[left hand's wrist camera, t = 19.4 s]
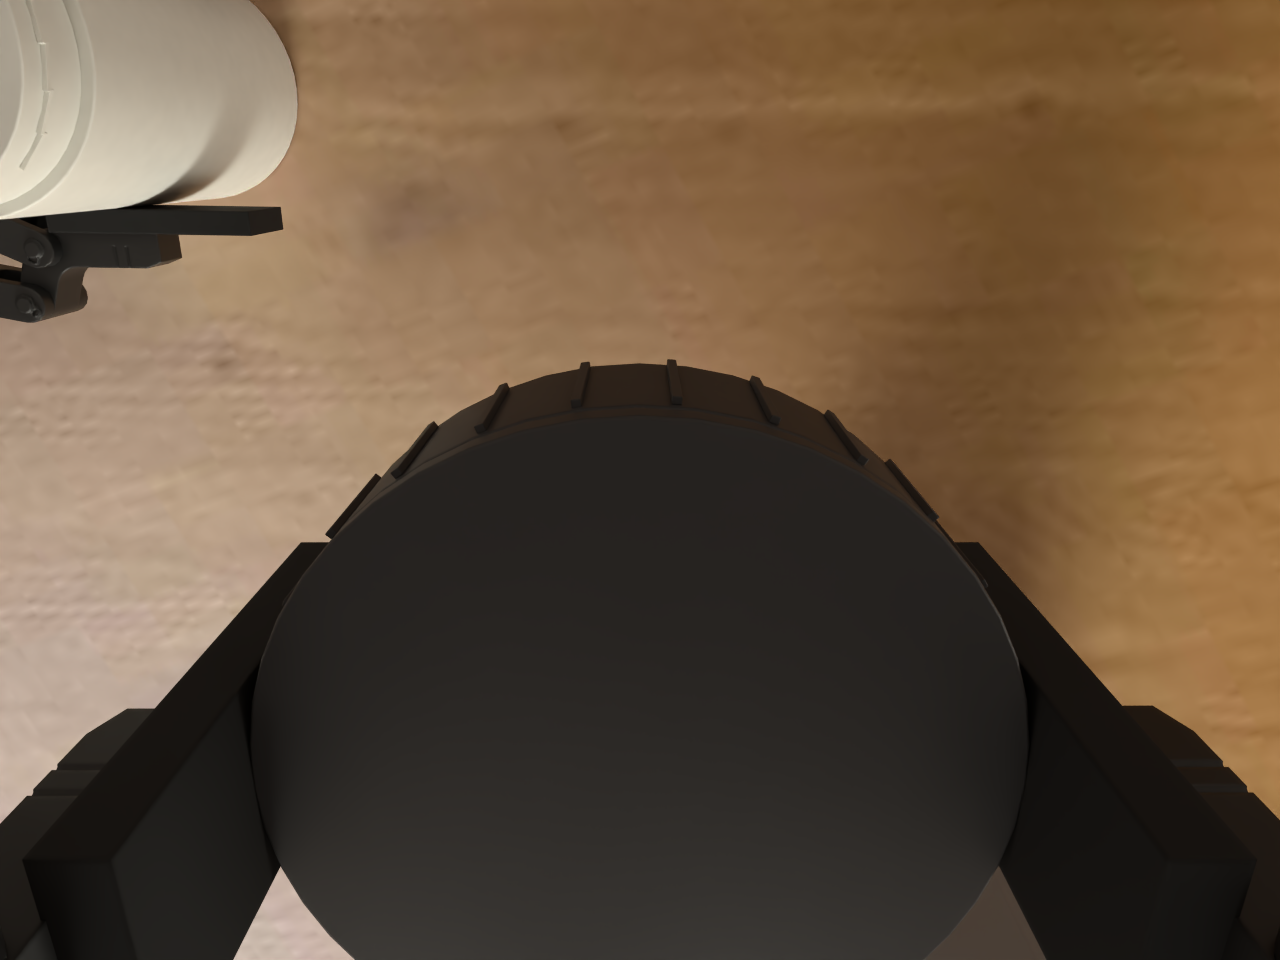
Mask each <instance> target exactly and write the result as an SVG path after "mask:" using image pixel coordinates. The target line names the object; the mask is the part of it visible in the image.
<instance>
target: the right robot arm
mask: <svg viewBox="0 0 1280 960" xmlns="http://www.w3.org/2000/svg"><path fill="white" fill-rule="evenodd" d="M278 230H283V223H282V215H281V207H249V206H187V205H145V206H135V207H124V208H114V209H104V210H93V211H83V212H73V213H62V214H52V215H42V216H32V217H21V218H11V219H1V220H0V254H3V255H5V256H7V257H10V258H12V259H14V260H17V261H19V262H21V263H23V264H22V268H18V267H13V266H7V265H2V264H0V317H1V318H6V319H11V320H17V321H22V322H38V321H42V320H45V319H49V318H53V317H56V316H60V315H64V314H67V313H71V312H75V311H78V310H80V309H82V308H84V306H85V305H86V304H87V299H88V296H87V292H86V290H85V288H84V286H83V285H82V282H83V276H84V273H85V271H86V270H87V268H88V267H98V268H151V267H155V266H160V265H164V264H169V263H171V262H173V261H176V260H178V259H180V258H182V254H181V248H180V242H179V236H178V235H232V236H253V235H258V234H263V233H268V232H273V231H278Z"/></svg>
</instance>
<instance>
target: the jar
mask: <svg viewBox="0 0 1280 960" xmlns="http://www.w3.org/2000/svg"><path fill="white" fill-rule="evenodd" d="M297 108H298V101H297V88H296V82H295V76H294V72H293V69H292V66H291V62H290V59H289V57H288V54H287V52H286V50H285V47H284V45H283V43H282V41H281V40H280V38H279V36H278V34H277V33H276V31H275V29H274V28H273V27H272V25H271V24H270V22H269V21H268V20H267V18H266V17H265V16H264V15H263V14H262V13H261V12H260V10H259V9H258V8H257V7H256V6H255V5H254V4H253V3H251V2H250V1H249V0H0V220H1V219H11V218H21V217H32V216H42V215H52V214H62V213H73V212H83V211H93V210H104V209H114V208H124V207H135V206H145V205H155V204H165V203H176V202H186V201H196V200H207V199H217V198H224V197H229V196H234V195H237V194H240V193H242V192H245V191H247V190H249V189H251V188H253V187H255V186H256V185H258V184H259V183H261V182H262V181H263V180H265V179H266V178H267V177H268V176H269V175H270V174H271V173H272V172H273V171H274V170H275V169H276V168H277V166H278V165H279V163H280V162H281V161H282V159H283V158H284V156H285V154H286V152H287V150H288V148H289V146H290V143H291V140H292V137H293V134H294V130H295V125H296V120H297Z"/></svg>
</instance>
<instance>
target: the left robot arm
mask: <svg viewBox="0 0 1280 960" xmlns="http://www.w3.org/2000/svg"><path fill="white" fill-rule="evenodd" d="M328 543H329V542H301V543H300V544H299V545H298V546H297V548H296V549H295V550H294V551H293V552H292V553H291V554H290V556H289V557H288V558H287V559H286V560H285V561H284V562H283V563H282V565H281V566H280V567H279V568H278V569H277V570H276V571H275V573H274V574H273V575H272V576H271V577H270V578H269V579H268V581H267V582H266V583H265V584H264V585H263V586H262V587H261V588H260V590H259V591H258V592H257V593H256V594H255V595H254V596H253V598H252V599H251V600H250V601H249V602H248V603H247V604H246V606H245V607H244V608H243V609H242V610H241V611H240V612H239V613H238V615H237V616H236V617H235V618H234V619H233V620H232V621H231V623H230V624H229V625H228V626H227V627H226V628H225V629H224V631H223V632H222V633H221V634H220V635H219V636H218V637H217V638H216V640H215V641H214V642H213V643H212V644H211V645H210V646H209V648H208V649H207V650H206V651H205V652H204V653H203V654H202V656H201V657H200V658H199V659H198V660H197V661H196V662H195V663H194V665H193V666H192V667H191V668H190V669H189V670H188V671H187V673H186V674H185V675H184V676H183V677H182V678H181V679H180V681H179V682H178V683H177V684H176V685H175V686H174V687H173V688H172V690H171V691H170V692H169V693H168V694H167V695H166V696H165V698H164V699H163V700H162V701H161V702H160V703H159V704H158V706H157V707H156V708H155V709H126V710H124V711H123V712H121V713H120V714H118V715H116V716H115V717H113V718H112V719H110V720H108V721H107V722H105V723H104V724H102V725H100V726H99V727H97V728H95V729H94V730H92V731H91V732H89V733H87V734H86V735H85V736H84V737H83V738H82V739H81V740H80V741H79V742H78V743H77V744H76V745H75V746H74V748H73V749H72V750H71V751H70V752H69V753H68V754H67V755H66V756H65V757H64V758H63V759H62V760H61V761H60V762H59V763H58V764H57V766H58V767H57V770H51V771H50V773H49V774H48V775H47V776H46V777H45V778H44V779H43V780H42V781H41V782H40V783H39V784H38V785H37V786H36V787H35V788H34V789H33V795H32V796H26V798H25V799H24V800H23V801H22V802H21V803H20V804H19V805H18V806H17V807H16V808H15V809H14V810H13V811H12V812H11V813H10V814H9V815H8V816H7V817H6V818H5V819H4V820H3V821H2V823H1V824H0V960H233V959H234V957H235V955H236V953H237V951H238V949H239V947H240V945H241V943H242V941H243V939H244V937H245V935H246V933H247V931H248V929H249V927H250V925H251V923H252V921H253V919H254V918H255V916H256V914H257V912H258V910H259V908H260V906H261V904H262V902H263V900H264V898H265V896H266V894H267V892H268V890H269V888H270V886H271V884H272V882H273V880H274V878H275V876H276V874H277V872H278V870H279V868H280V866H281V865H280V863H279V861H278V858H277V856H276V854H275V852H274V849H273V847H272V845H271V842H270V840H269V838H268V835H267V833H266V831H265V828H264V824H263V820H262V817H261V813H260V809H259V806H258V802H257V797H256V792H255V787H254V781H253V774H252V765H251V755H250V728H251V709H252V699H253V695H254V690H255V686H256V681H257V676H258V672H259V667H260V663H261V658H262V656H263V653H264V651H265V648H266V646H267V643H268V641H269V638H270V636H271V633H272V631H273V628H274V626H275V623H276V620H277V618H278V616H279V614H280V612H281V611H282V609H283V607H284V606H282V604H283V601H284V599H285V598H286V596H287V595H288V594H289V593H290V592H291V590H292V589H293V588H294V587H295V585H296V584H297V583H298V582H299V580H300V579H301V577H302V575H303V574H304V573H305V572H306V570H307V569H308V568H309V567H310V565H311V564H312V563H313V562H314V560H315V559H316V558H317V557H318V555H319V554H320V553H321V552H322V551H323V549H324V548H325V547H326V546H327V544H328ZM954 543H955V544H956V545H957V546H958V547H959V549H960V550H961V551H962V552H963V553H964V555H965V556H966V557H967V558H968V560H969V561H970V562H971V563H972V564H973V566H974V567H975V568H976V569H977V571H978V572H979V573H980V574H981V575H982V577H983V578H984V579H985V581H986V583H987V584H988V587H986V588H985V590H986V592H987V593H988V595H989V597H990V598H991V600H992V602H993V603H994V605H995V607H996V608H997V610H998V612H999V613H1000V615H1001V617H1002V620H1003V622H1004V625H1005V627H1006V630H1007V632H1008V635H1009V637H1010V640H1011V642H1012V645H1013V647H1014V650H1015V652H1016V655H1017V657H1018V662H1019V666H1020V671H1021V675H1022V680H1023V684H1024V689H1025V693H1026V698H1027V706H1028V724H1029V742H1030V747H1029V757H1028V767H1027V776H1026V782H1025V788H1024V793H1023V798H1022V802H1021V806H1020V810H1019V814H1018V817H1017V821H1016V825H1015V829H1014V831H1013V833H1012V836H1011V838H1010V840H1009V843H1008V845H1007V847H1006V850H1005V852H1004V854H1003V857H1002V859H1001V861H1000V864H999V866H998V868H997V869H996V871H995V873H994V874H993V876H992V878H991V879H990V881H989V882H988V884H987V886H986V887H985V889H984V891H983V892H982V894H981V896H980V897H979V899H978V901H977V902H976V903H975V905H974V906H973V907H972V908H971V910H970V911H969V912H968V913H967V915H966V916H965V917H964V918H963V920H962V921H961V922H960V923H959V924H958V926H957V927H956V928H955V929H954V931H953V932H952V933H951V934H950V935H949V936H948V937H947V938H946V939H945V940H944V941H943V942H942V943H941V944H940V945H939V946H938V947H937V948H936V949H935V950H934V951H933V952H932V953H931V954H930V955H929V956H928V957H927V958H926V959H925V960H1280V820H1279V819H1278V818H1277V817H1276V816H1275V815H1274V814H1273V813H1272V812H1271V811H1270V810H1269V809H1268V808H1267V806H1266V805H1265V804H1264V803H1263V802H1262V801H1261V800H1260V799H1259V798H1258V797H1257V796H1256V795H1255V794H1254V793H1248V791H1247V786H1246V785H1245V784H1244V783H1243V782H1242V781H1241V780H1240V779H1239V777H1238V776H1237V775H1236V774H1235V773H1234V772H1233V771H1232V770H1231V769H1230V768H1229V767H1224V766H1223V761H1222V760H1221V759H1220V758H1219V757H1218V756H1217V755H1216V754H1215V753H1214V752H1213V751H1212V750H1211V748H1210V747H1209V746H1208V745H1207V744H1206V743H1205V742H1204V741H1203V740H1202V739H1201V738H1200V737H1199V736H1198V735H1197V734H1196V733H1195V732H1194V731H1193V730H1191V729H1189V728H1188V727H1186V726H1185V725H1183V724H1181V723H1180V722H1178V721H1176V720H1175V719H1173V718H1172V717H1170V716H1168V715H1167V714H1165V713H1164V712H1162V711H1160V710H1159V709H1157V708H1155V707H1154V706H1122V705H1121V704H1120V703H1119V702H1118V701H1117V699H1116V698H1115V697H1114V696H1113V695H1112V694H1111V693H1110V691H1109V690H1108V689H1107V688H1106V687H1105V686H1104V685H1103V683H1102V682H1101V681H1100V680H1099V679H1098V678H1097V677H1096V676H1095V674H1094V673H1093V672H1092V671H1091V670H1090V669H1089V668H1088V666H1087V665H1086V664H1085V663H1084V662H1083V661H1082V660H1081V658H1080V657H1079V656H1078V655H1077V654H1076V653H1075V652H1074V651H1073V649H1072V648H1071V647H1070V646H1069V645H1068V644H1067V643H1066V641H1065V640H1064V639H1063V638H1062V637H1061V636H1060V635H1059V633H1058V632H1057V631H1056V630H1055V629H1054V628H1053V627H1052V626H1051V624H1050V623H1049V622H1048V621H1047V620H1046V619H1045V618H1044V616H1043V615H1042V614H1041V613H1040V612H1039V611H1038V610H1037V608H1036V607H1035V606H1034V605H1033V604H1032V603H1031V602H1030V601H1029V599H1028V598H1027V597H1026V596H1025V595H1024V594H1023V593H1022V591H1021V590H1020V589H1019V588H1018V587H1017V586H1016V585H1015V583H1014V582H1013V581H1012V580H1011V579H1010V578H1009V577H1008V576H1007V574H1006V573H1005V572H1004V571H1003V570H1002V569H1001V568H1000V566H999V565H998V564H997V563H996V562H995V561H994V560H993V558H992V557H991V556H990V555H989V554H988V553H987V552H986V551H985V549H984V548H983V547H982V546H981V545H980V544H979V543H978V542H954Z"/></svg>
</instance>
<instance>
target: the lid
mask: <svg viewBox="0 0 1280 960" xmlns="http://www.w3.org/2000/svg"><path fill="white" fill-rule="evenodd" d="M938 518H939V516H938V515H937V514H936V513H935V511H934V510H933V509H932V508H931V507H930V505H929V504H928V503H927V502H926V501H925V499H924V498H923V497H922V496H921V495H920V493H919V492H918V491H917V490H916V489H915V487H914V486H913V485H912V484H911V483H910V481H909V480H908V479H907V478H906V477H905V475H904V474H903V473H902V472H901V471H900V469H899V468H898V467H897V466H896V465H895V463H894V462H893V461H892V460H891V459H889V460H888V461H886V462H884V461H882V460H881V459H880V458H879V457H878V456H877V455H876V454H875V453H874V452H873V451H871V450H870V449H869V448H868V447H867V446H866V445H865V444H864V443H863V442H861V441H860V440H859V439H858V438H857V437H856V436H855V435H854V434H852V433H851V432H849V431H848V430H846V429H845V427H844V426H843V425H842V423H841V422H840V421H839V419H838V418H837V417H836V415H835V414H834V413H832V412H831V411H829V410H827V411H826V413H825V414H822V413H821V412H819V411H818V410H816V409H814V408H812V407H810V406H808V405H806V404H804V403H802V402H800V401H798V400H796V399H794V398H792V397H790V396H788V395H786V394H784V393H781V392H779V391H777V390H775V389H772V388H769V387H766V386H764V385H763V383H762V382H761V380H760V378H758V377H755V376H751V379H750V381H748V380H745V379H742V378H739V377H736V376H733V375H728V374H723V373H718V372H712V371H707V370H702V369H697V368H692V367H687V366H677V363H676V360H670V359H668V360H667V365H656V364H640V363H639V364H623V365H608V366H593V367H590V362H583V363H581V365H580V369H577V370H572V371H567V372H562V373H557V374H552V375H547V376H543V377H540V378H537V379H534V380H531V381H528V382H526V383H523V384H520V385H517V386H514V387H511V388H509V386H508V384H507V383H504V384H502V385H500V386H499V387H498V389H497V390H496V392H495V393H494V395H492V396H490V397H488V398H486V399H484V400H482V401H480V402H478V403H476V404H473V405H471V406H469V407H467V408H465V409H463V410H461V411H460V412H458V413H457V414H455V415H454V416H452V417H451V418H449V419H448V420H447V421H445V422H444V423H442V424H441V425H439V426H438V425H437V424H436V423H435V422H434V421H433V422H432V423H430V424H429V425H428V426H427V427H426V428H425V430H424V431H423V432H422V433H421V435H420V436H419V437H418V439H417V440H416V441H415V442H414V444H413V445H412V446H411V447H410V449H409V450H408V451H407V452H406V453H405V454H403V455H402V456H401V457H400V458H399V459H398V460H397V461H396V462H395V463H394V464H392V466H391V467H390V468H389V469H388V471H387V472H386V473H385V474H384V475H383V477H382V478H381V477H380V476H379V475H377V474H375V475H374V476H373V477H372V479H371V480H370V481H369V482H368V483H367V485H366V486H365V487H364V488H363V489H362V491H361V492H360V493H359V494H358V495H357V497H356V498H355V499H354V500H353V501H352V503H351V504H350V505H349V506H348V507H347V509H346V510H345V511H344V512H343V513H342V515H341V516H340V517H339V518H338V519H337V521H336V522H335V523H334V524H333V525H332V527H331V528H330V529H329V530H328V531H327V533H326V534H325V535H326V536H328V537H329V538H330V539H331V541H330V542H329V543H328V544H327V546H326V547H325V548H324V549H323V551H322V552H321V553H320V554H319V555H318V557H317V558H316V559H315V560H314V562H313V563H312V564H311V565H310V567H309V568H308V569H307V570H306V572H305V573H304V574H303V575H302V577H301V579H300V580H299V582H298V583H297V584H296V585H295V587H294V588H293V589H292V590H291V592H290V593H289V594H288V595H287V596H286V598H285V599H284V601H283V604H282V606H284V607H283V609H282V611H281V612H280V614H279V616H278V618H277V620H276V623H275V626H274V628H273V631H272V633H271V636H270V638H269V641H268V643H267V646H266V648H265V651H264V653H263V656H262V658H261V663H260V667H259V672H258V676H257V681H256V686H255V690H254V695H253V699H252V709H251V728H250V755H251V765H252V774H253V781H254V787H255V792H256V797H257V802H258V806H259V809H260V813H261V817H262V820H263V824H264V828H265V831H266V833H267V835H268V838H269V840H270V842H271V845H272V847H273V849H274V852H275V854H276V856H277V858H278V861H279V863H280V865H281V868H282V869H283V871H284V873H285V874H286V876H287V877H288V879H289V881H290V882H291V884H292V886H293V887H294V889H295V891H296V892H297V894H298V895H299V897H300V899H301V900H302V902H303V903H304V905H305V906H306V907H307V908H308V910H309V911H310V912H311V913H312V915H313V916H314V917H315V918H316V919H317V921H318V922H319V923H320V924H321V926H322V927H323V928H324V929H325V931H326V932H327V933H328V934H329V935H330V936H331V937H332V938H333V939H334V940H335V941H336V942H337V943H338V944H339V945H340V946H341V947H342V948H343V949H344V950H345V951H346V952H347V953H348V954H349V955H350V956H351V957H352V958H354V959H355V960H925V959H926V958H927V957H928V956H929V955H930V954H931V953H932V952H933V951H934V950H935V949H936V948H937V947H938V946H939V945H940V944H941V943H942V942H943V941H944V940H945V939H946V938H947V937H948V936H949V935H950V934H951V933H952V932H953V931H954V929H955V928H956V927H957V926H958V924H959V923H960V922H961V921H962V920H963V918H964V917H965V916H966V915H967V913H968V912H969V911H970V910H971V908H972V907H973V906H974V905H975V903H976V902H977V901H978V899H979V897H980V896H981V894H982V892H983V891H984V889H985V887H986V886H987V884H988V882H989V881H990V879H991V878H992V876H993V874H994V873H995V871H996V869H997V868H998V866H999V864H1000V861H1001V859H1002V857H1003V854H1004V852H1005V850H1006V847H1007V845H1008V843H1009V840H1010V838H1011V836H1012V833H1013V831H1014V829H1015V825H1016V821H1017V817H1018V814H1019V810H1020V806H1021V802H1022V798H1023V793H1024V788H1025V782H1026V776H1027V767H1028V757H1029V747H1030V742H1029V724H1028V706H1027V698H1026V693H1025V689H1024V684H1023V680H1022V675H1021V671H1020V666H1019V662H1018V657H1017V655H1016V652H1015V650H1014V647H1013V645H1012V642H1011V640H1010V637H1009V635H1008V632H1007V630H1006V627H1005V625H1004V622H1003V620H1002V617H1001V615H1000V613H999V612H998V610H997V608H996V607H995V605H994V603H993V602H992V600H991V598H990V597H989V595H988V593H987V592H986V590H985V588H986V587H988V584H987V583H986V581H985V579H984V578H983V577H982V575H981V574H980V573H979V572H978V571H977V569H976V568H975V567H974V566H973V564H972V563H971V562H970V561H969V560H968V558H967V557H966V556H965V555H964V553H963V552H962V551H961V550H960V549H959V547H958V546H957V545H956V544H955V543H954V541H953V540H952V539H951V538H950V536H949V535H948V534H947V533H946V532H945V530H944V529H943V528H942V527H941V525H940V524H939V523H938V522H937V521H936V520H937V519H938Z"/></svg>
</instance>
